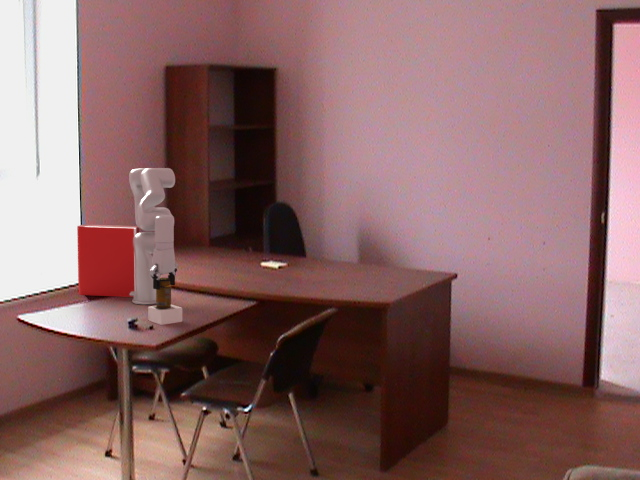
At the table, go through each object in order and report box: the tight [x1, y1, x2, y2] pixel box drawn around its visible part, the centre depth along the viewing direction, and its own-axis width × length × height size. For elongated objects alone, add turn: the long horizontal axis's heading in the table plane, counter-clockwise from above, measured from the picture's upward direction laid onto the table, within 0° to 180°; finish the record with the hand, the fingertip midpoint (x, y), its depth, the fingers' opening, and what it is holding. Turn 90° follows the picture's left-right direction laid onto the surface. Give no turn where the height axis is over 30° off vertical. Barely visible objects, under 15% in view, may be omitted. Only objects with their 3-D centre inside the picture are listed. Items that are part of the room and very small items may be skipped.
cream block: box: [147, 303, 183, 326], centre depth 375 cm, size 10×10×6 cm
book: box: [77, 224, 140, 298], centre depth 426 cm, size 27×8×32 cm, turn 84°
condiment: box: [152, 277, 175, 310], centre depth 373 cm, size 7×8×12 cm
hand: (164, 287), depth 374 cm, fingers open, 9 cm apart
